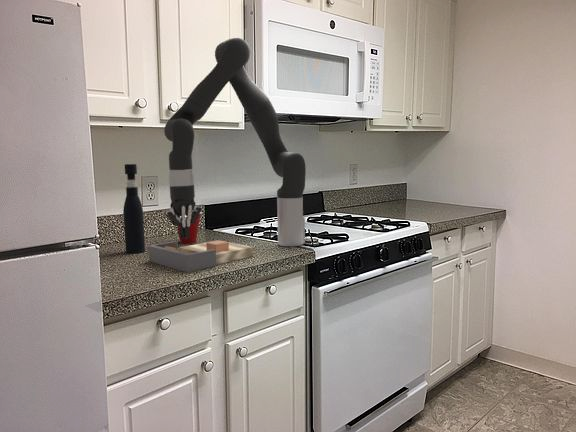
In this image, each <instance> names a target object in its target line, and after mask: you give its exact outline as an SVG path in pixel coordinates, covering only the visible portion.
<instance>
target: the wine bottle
mask: <svg viewBox="0 0 576 432" xmlns="http://www.w3.org/2000/svg"><path fill="white" fill-rule="evenodd" d="M137 167H138V165H137V164H136V163H127V164H124V174H125V175H126V177H127V178H126V180H127V181H126V187H125V190H126V196H125V199H124V203H123V226H124V228H123V230H124V246H125V254H142V253H145V252H146V245H145V242H146V241H145V227H144V224H145V223H144V210H143V205H142V202H141V199H140V196H139V188H138V185H137V183H138V182H137V181H136V175H137V174H138V168H137Z"/></svg>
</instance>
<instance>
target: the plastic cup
mask: <svg viewBox="0 0 576 432" xmlns="http://www.w3.org/2000/svg"><path fill="white" fill-rule="evenodd" d="M202 214H203V212H202V211H201V212H200V214H199V216H198V218H197V219H196V221H195V223H194V224H191V225H190V227H189V228H190V236H189V238H187V239H182V238H181V237H180V230H179V226H176V228H177V233H178V237H179V242H180V243H181V244H183V245H185V244H186V245H189V244H195V243H196V242H197V237H198V233H199V223H200V219H201V215H202ZM174 216H175V217H176V214H175V213H174Z"/></svg>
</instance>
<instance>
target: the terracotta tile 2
mask: <svg viewBox="0 0 576 432" xmlns="http://www.w3.org/2000/svg"><path fill="white" fill-rule="evenodd" d="M205 243H206V242H205ZM206 248H207V250H212V249H215V250H216V253H217V252H221V251H226V250H229V241H223V240H218V241H217V240H213V241H212V240H211V241H207V243H206Z"/></svg>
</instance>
